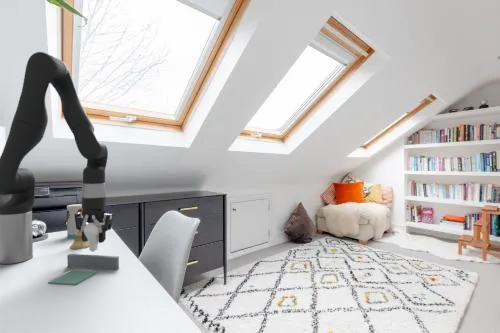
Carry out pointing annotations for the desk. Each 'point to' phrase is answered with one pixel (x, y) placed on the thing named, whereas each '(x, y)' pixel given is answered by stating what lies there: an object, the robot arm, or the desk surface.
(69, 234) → the cup
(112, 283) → the desk surface
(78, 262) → the wall
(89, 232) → the lightbulb
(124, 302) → the desk surface
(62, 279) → the pad
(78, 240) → the hand bell
